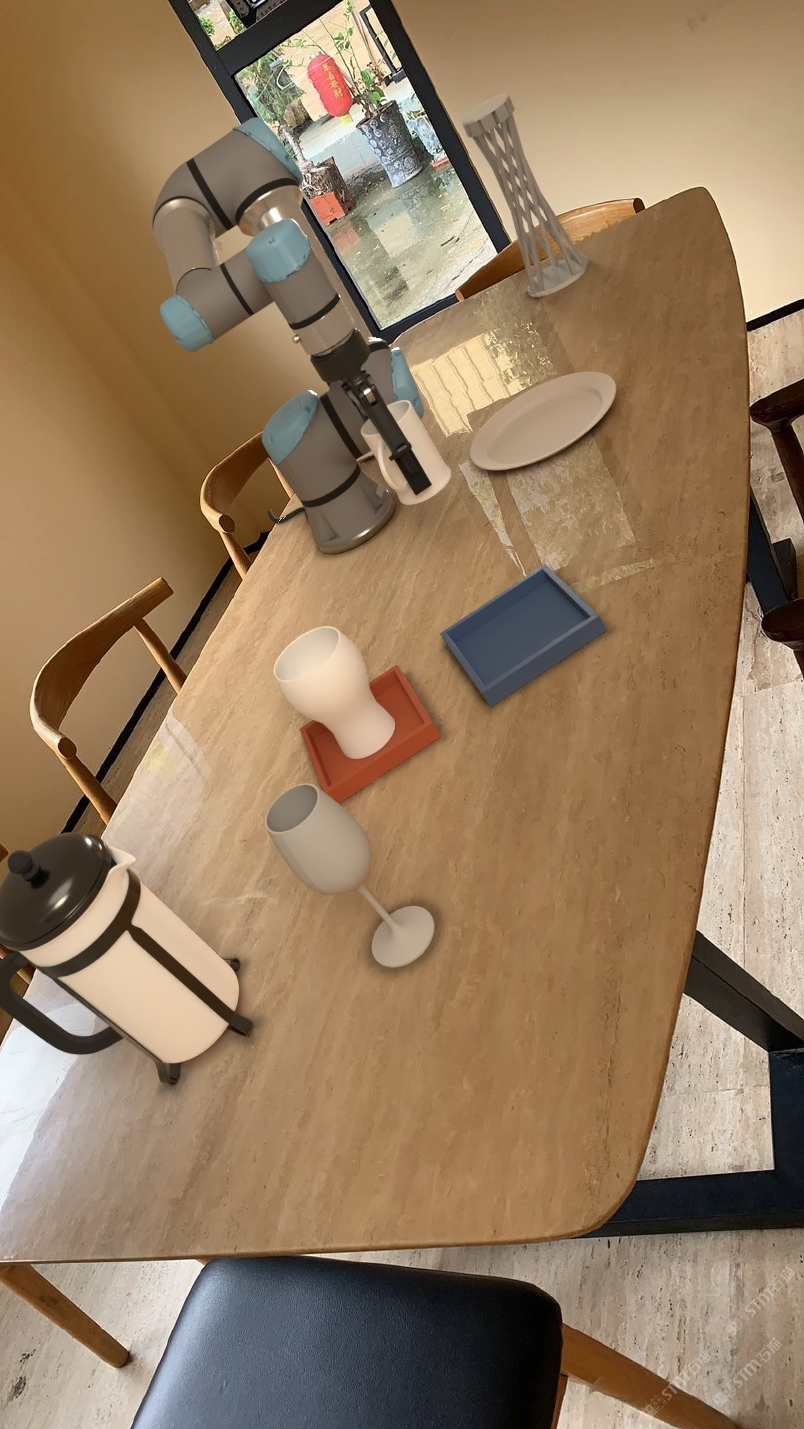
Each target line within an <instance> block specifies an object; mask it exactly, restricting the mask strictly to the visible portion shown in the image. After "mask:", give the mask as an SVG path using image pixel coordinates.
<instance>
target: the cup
mask: <svg viewBox="0 0 804 1429" xmlns="http://www.w3.org/2000/svg"><path fill="white" fill-rule="evenodd" d="M272 671H273V677H274V679H275V681H276V684H277V686H278V688H279V690H280V693H281V694H282V696H283V697H284V698H285V699H286V701H287V702H288V703H289V704H290V705H291V708H293V709H294V710H295V711H297V712H298V713H299V714H301V715H303V716H304V717H306V718H307V719H310V720H311V721H312V720H315V721H317V722H320V723H323V724H324V725H325V726H326V727H327V728H328V729H329V730H330V731H331V732H332V733H333V734H334V736H335V738H336V740H337V742H338V744H339V746H340V748H341V750H342V751H343V753H344V754H345V755H346V757H348V758H351V759H360V758H365V757H367V756H370V755H372V754H373V753H375V752H377V751H378V750H379V749H381V748H382V747H383V746H384V745H385V744H386V743H387V742H388V741H389V739H390V738H391V736H392V735H393V732H394V730H395V721H394V718H393V717H392V716H391V715H390V714H389V713H388V712H387V711H386V710H385V709H384V708H383V707H382V706H381V705H379V704H378V703H377V702H376V700H375V698H374V696H373V694H372V692H371V690H370V687H369V683H370V677H369V676H370V675H369V672H368V669H367V666H366V663H365V660H364V657H363V653H362V652H361V651H360V650H359V648H358V647H357V645H356V644H355V643H354V642H353V641H352V640H351V639H350V638H349V637H347V636H346V635H345V634H344V633H342V631H340V630H339V629H338V628H337V627H334V626H331V625H323V626H319V627H318V626H317V627H315V628H312V629H310V630H308V631H306V632H304V633H302V634H300V635H299V636H297V637H296V638H295V639H294V640H292V641H291V642H289V643H288V645H287V646H286V647H285V648H284V649H283V650H282V652H281V653H280V654H279V655H278V657H277V659H275V662H274V665H273V670H272Z"/></svg>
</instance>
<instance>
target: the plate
mask: <svg viewBox="0 0 804 1429" xmlns="http://www.w3.org/2000/svg"><path fill="white" fill-rule="evenodd" d="M616 394H617V384H616V382H615V380H614V378H612V377H611V376H610V375H608V374H607V373H604V372H600V371H579V372H573V373H569V374H565V375H561V376H559V377H556V378H552V379H550V380H548V381H545V382H542V383H541V384H539V385H536V386H534V387H532V388H530V389H529V390H527V391H525V392H523V393H521V394H519V395H518V396H516V397H515V398H513V399H511V401H509V402H508V403H506V404H504V405H503V406H502V407H501V408H500V409H498V410H497V411H496V412H495V413H494V414H493V415H492V416H490V417H489V418H488V419H487V420H486V422H485V423H484V424H483V425H482V426H481V427H480V429H479V430H478V431H477V433H476V434H475V436H474V438H473V439H472V441H471V444H470V448H469V457H470V460H471V461H472V463H473V465H475V466H476V467H478V468H480V469H483V470H489V471H505V470H511V469H517V468H520V467H524V466H530V465H533V464H536V463H538V462H542V461H544V460H546V459H549V458H551V457H553V456H555V455H557V454H559V453H561V452H563V451H564V450H566V449H567V448H569V447H570V446H572V445H573V444H575V443H576V442H577V441H578V440H580V439H581V438H582V437H584V436H585V435H586V433H588V432H589V431H590V430H591V429H592V428H593V427H594V426H595V425H596V424H597V423H599V421H600V420H602V418H603V417H604V416H605V415H606V413H607V412H608V411H609V409H610V408H611V406H612V405H613V402H614V400H615V398H616Z"/></svg>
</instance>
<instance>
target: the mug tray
mask: <svg viewBox="0 0 804 1429" xmlns="http://www.w3.org/2000/svg"><path fill="white" fill-rule="evenodd" d="M606 632H607V628H606V627H605V624H604V622H603V620H602V619H601V617H600V615H599V614H598V613H597V612H596V611H595V610H594V609H592V607H591V606H590V605H589V604H587V602H585V601H584V600H583V598H581V596H579V595H578V594H577V592H575V591H574V590H573V589H572V588H571V587H570V586H569V585H568V584H567V583H566V582H565V581H564V580H563V579H562V578H560V576H558V574H556V572H555V571H553V569H551V567H549V566H548V565H547V564H546V563H544V564H542V565H541V566H539V567H537V568H536V569H535V570H533V571H531V572H530V573H529V574H527V575H525V576H524V577H523V578H521V579H520V580H518V581H517V582H515V583H514V584H512V585H510V586H509V587H508V588H506V589H504V590H503V591H502V592H500V593H499V594H497V595H495V596H494V597H493V598H491V599H489V600H488V601H486V602H485V603H483V604H482V605H481V606H479V607H477V608H476V609H474V610H472V611H471V612H470V613H468V614H467V615H466V616H464V617H463V618H461V619H459V620H458V621H456V622H455V623H453V624H452V625H450V626H449V627H447V628H446V629H444V630H443V631H441V632H440V633H439V635H440V637H441V638H442V640H443V642H444V643H445V644H446V646H447V647H448V649H449V650H450V652H451V653H452V655H453V656H454V658H456V660H457V662H458V663H459V664H460V666H461V668H462V669H463V670H464V671H465V673H466V675H467V676H468V677H469V679H470V680H471V682H472V683H473V684H474V686H475V687H476V688H477V690H478V691H479V693H480V695H481V696H482V697H483V698H484V700H485V701H486V703H487V704H488V705H489V707H490V708H491V707H493V706H494V705H497V703H500V702H501V701H502V700H504V699H505V698H507V697H509V696H510V695H512V694H513V693H514V692H516V691H517V690H519V689H520V688H522V687H524V686H525V685H526V684H528V683H530V682H531V681H533V680H534V679H536V678H537V677H538V676H540V675H542V674H543V673H545V672H546V671H548V670H549V669H551V668H553V667H554V666H555V665H557V664H558V663H560V662H562V661H563V660H565V659H567V657H569V656H571V655H573V654H574V653H576V652H577V651H579V650H580V649H582V648H583V647H584V646H586V645H588V644H589V643H590V642H592V641H594V640H595V639H596V638H598V637H600V636H601V635H603V634H604V633H606Z"/></svg>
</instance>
